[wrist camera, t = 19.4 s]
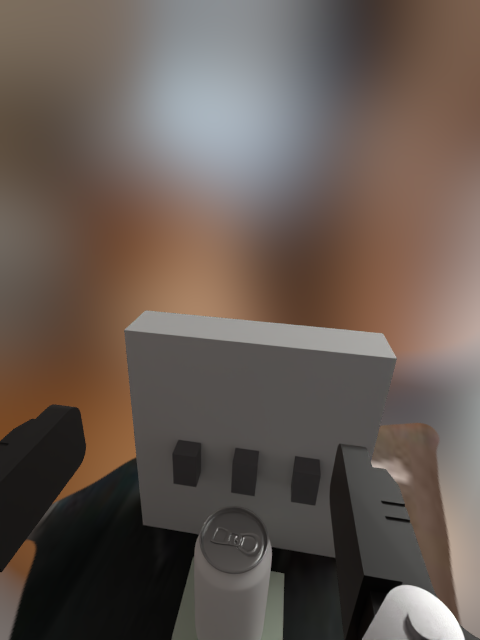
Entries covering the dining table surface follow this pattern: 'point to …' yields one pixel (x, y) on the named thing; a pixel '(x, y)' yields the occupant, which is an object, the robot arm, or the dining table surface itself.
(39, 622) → the dining table surface
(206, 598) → the can
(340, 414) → the breaker panel
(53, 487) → the robot arm
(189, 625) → the pad
